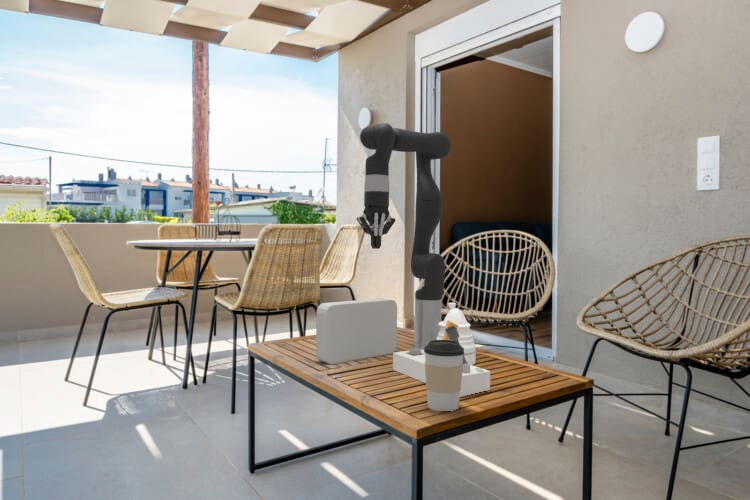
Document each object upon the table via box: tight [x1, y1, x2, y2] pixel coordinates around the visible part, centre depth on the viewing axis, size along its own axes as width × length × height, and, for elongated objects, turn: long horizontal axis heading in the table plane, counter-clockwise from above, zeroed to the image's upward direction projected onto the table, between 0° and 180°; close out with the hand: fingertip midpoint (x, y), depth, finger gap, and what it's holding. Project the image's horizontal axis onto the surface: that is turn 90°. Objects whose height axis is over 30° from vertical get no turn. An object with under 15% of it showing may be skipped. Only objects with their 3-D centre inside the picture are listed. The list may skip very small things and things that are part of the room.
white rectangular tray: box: [392, 349, 491, 398], centre depth 136 cm, size 10×29×7 cm, turn 32°
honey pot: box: [436, 302, 477, 366], centre depth 157 cm, size 13×13×18 cm
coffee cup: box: [424, 340, 464, 412], centre depth 113 cm, size 9×9×15 cm
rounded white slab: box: [315, 297, 398, 365], centre depth 161 cm, size 29×8×18 cm, turn 129°
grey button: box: [408, 347, 421, 356], centre depth 145 cm, size 3×3×3 cm
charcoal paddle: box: [445, 326, 468, 364], centre depth 127 cm, size 2×4×11 cm, turn 3°
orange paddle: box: [442, 320, 458, 340], centre depth 136 cm, size 2×4×11 cm, turn 1°
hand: (376, 248), depth 151 cm, fingers closed
